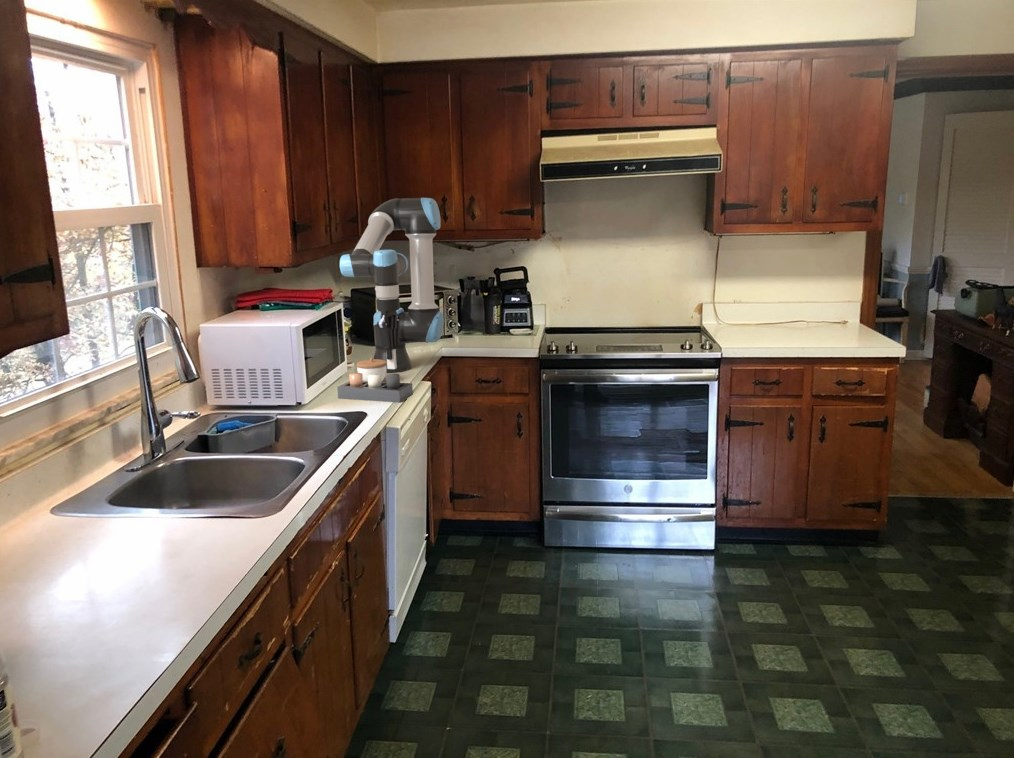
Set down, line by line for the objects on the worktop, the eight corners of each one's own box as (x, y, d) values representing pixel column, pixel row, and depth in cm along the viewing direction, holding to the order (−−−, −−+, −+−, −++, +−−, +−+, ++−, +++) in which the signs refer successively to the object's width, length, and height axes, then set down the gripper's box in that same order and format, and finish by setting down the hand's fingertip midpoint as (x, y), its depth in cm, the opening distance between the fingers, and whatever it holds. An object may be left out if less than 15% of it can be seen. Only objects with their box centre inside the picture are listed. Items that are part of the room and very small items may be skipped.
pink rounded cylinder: (354, 386, 272) (353, 372, 271) (365, 387, 271) (364, 373, 270) (347, 389, 268) (346, 375, 267) (359, 390, 267) (358, 376, 266)
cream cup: (372, 387, 270) (371, 373, 269) (384, 388, 269) (383, 374, 268) (366, 390, 266) (365, 376, 265) (377, 391, 265) (376, 377, 264)
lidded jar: (361, 388, 280) (359, 362, 278) (355, 381, 290) (353, 356, 287) (391, 384, 284) (389, 359, 282) (384, 378, 294) (382, 353, 291)
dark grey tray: (352, 391, 276) (352, 379, 275) (412, 394, 269) (412, 383, 268) (338, 398, 267) (337, 386, 266) (399, 402, 260) (399, 390, 259)
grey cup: (390, 387, 268) (389, 373, 267) (402, 388, 266) (401, 374, 265) (384, 390, 264) (383, 376, 263) (396, 391, 262) (395, 377, 261)
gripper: (386, 295, 265) (390, 363, 270) (367, 300, 253) (372, 372, 258) (406, 295, 263) (410, 364, 268) (388, 300, 251) (393, 373, 256)
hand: (392, 368), depth 263 cm, fingers closed
